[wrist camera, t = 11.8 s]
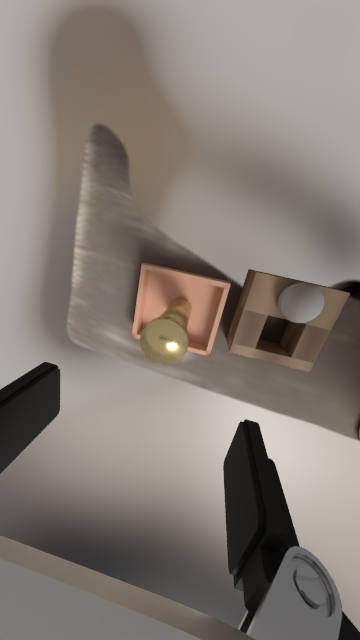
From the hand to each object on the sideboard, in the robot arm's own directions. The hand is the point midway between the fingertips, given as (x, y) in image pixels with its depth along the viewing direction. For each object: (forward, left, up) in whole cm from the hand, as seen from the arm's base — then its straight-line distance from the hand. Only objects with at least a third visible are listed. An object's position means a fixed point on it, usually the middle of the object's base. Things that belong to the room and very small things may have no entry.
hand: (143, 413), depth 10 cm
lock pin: (+1, 0, -19) cm, 19 cm away
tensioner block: (-12, -2, -19) cm, 23 cm away
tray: (+1, 0, -19) cm, 19 cm away
